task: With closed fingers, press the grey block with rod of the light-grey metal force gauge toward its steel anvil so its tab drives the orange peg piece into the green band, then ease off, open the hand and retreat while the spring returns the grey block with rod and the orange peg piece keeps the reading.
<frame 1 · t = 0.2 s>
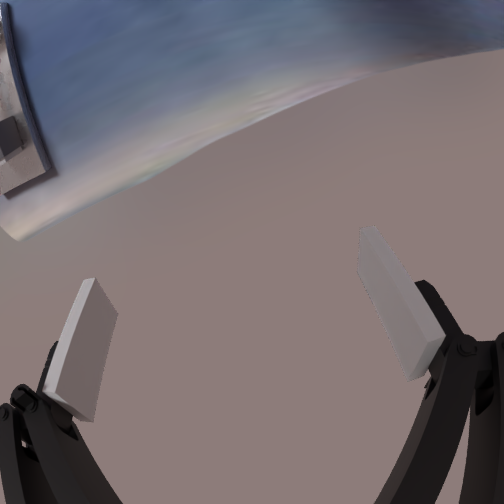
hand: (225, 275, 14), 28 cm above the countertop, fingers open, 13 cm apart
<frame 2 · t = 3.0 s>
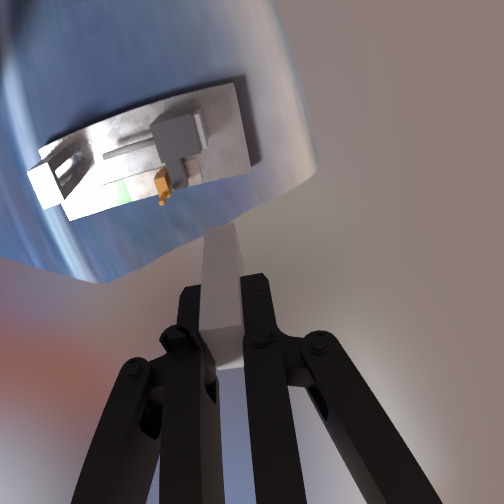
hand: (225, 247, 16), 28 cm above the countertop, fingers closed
grey block with rod: (156, 159, 36), point 5 cm above the countertop, slide at 0.0 cm
gauge board: (139, 151, 39), on the countertop
orange peg piece: (162, 188, 38), point 5 cm above the countertop, slide at 0.0 cm
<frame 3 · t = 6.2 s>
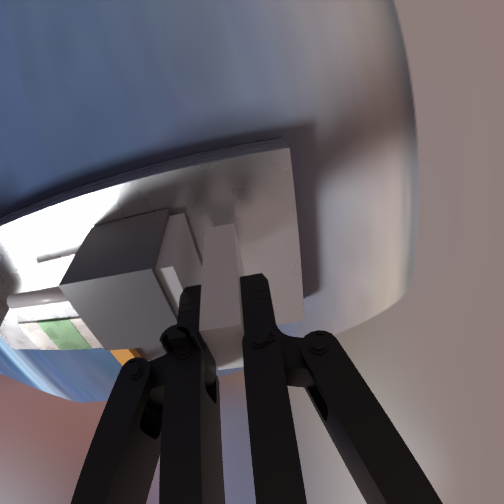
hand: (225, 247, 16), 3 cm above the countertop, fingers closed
grey block with rod: (100, 319, 17), point 5 cm above the countertop, slide at 1.2 cm, touching gripper, orange peg piece
gauge board: (90, 271, 20), on the countertop
orange peg piece: (128, 360, 19), point 5 cm above the countertop, slide at 0.7 cm, touching grey block with rod
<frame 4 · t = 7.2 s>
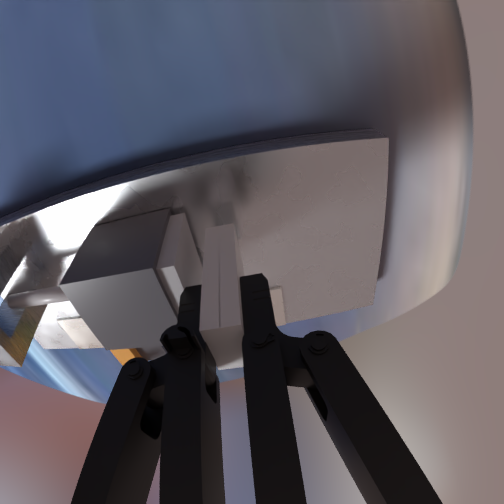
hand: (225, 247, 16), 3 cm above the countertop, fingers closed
grey block with rod: (101, 319, 17), point 5 cm above the countertop, slide at 6.7 cm, touching gripper, orange peg piece
gauge board: (156, 258, 20), on the countertop
orange peg piece: (128, 359, 19), point 5 cm above the countertop, slide at 6.2 cm, touching grey block with rod
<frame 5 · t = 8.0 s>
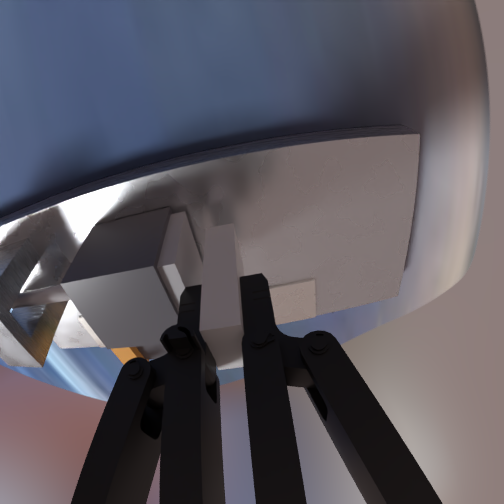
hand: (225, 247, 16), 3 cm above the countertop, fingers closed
grey block with rod: (102, 318, 17), point 5 cm above the countertop, slide at 9.0 cm, touching gripper, orange peg piece
gauge board: (187, 251, 20), on the countertop
orange peg piece: (129, 358, 19), point 5 cm above the countertop, slide at 8.5 cm, touching grey block with rod
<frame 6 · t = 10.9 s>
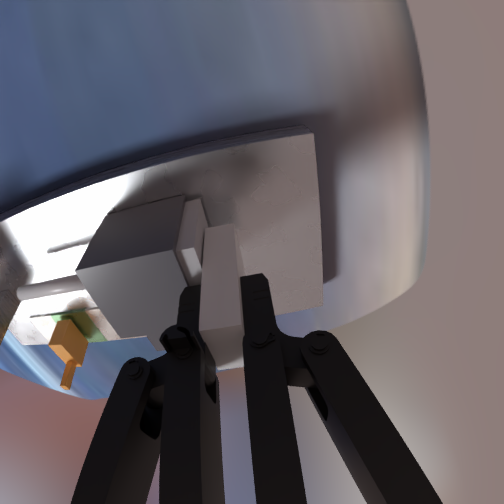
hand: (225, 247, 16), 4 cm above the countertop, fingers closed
grey block with rod: (114, 308, 17), point 5 cm above the countertop, slide at 1.7 cm
gauge board: (107, 260, 20), on the countertop
orange peg piece: (65, 355, 19), point 5 cm above the countertop, slide at 8.5 cm
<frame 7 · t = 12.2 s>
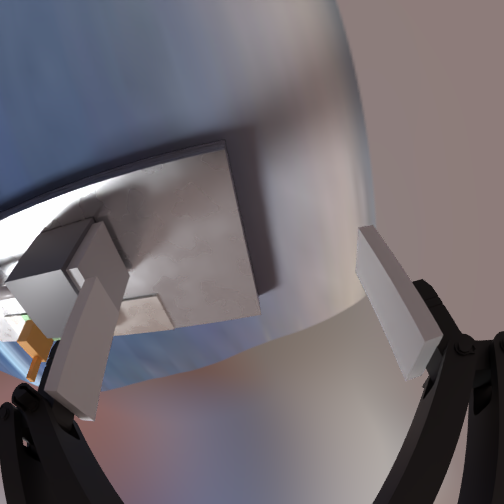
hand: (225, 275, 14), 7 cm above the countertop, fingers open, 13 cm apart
grey block with rod: (48, 312, 18), point 5 cm above the countertop, slide at 3.3 cm, touching gripper
gauge board: (65, 267, 21), on the countertop
orange peg piece: (31, 351, 20), point 5 cm above the countertop, slide at 8.5 cm
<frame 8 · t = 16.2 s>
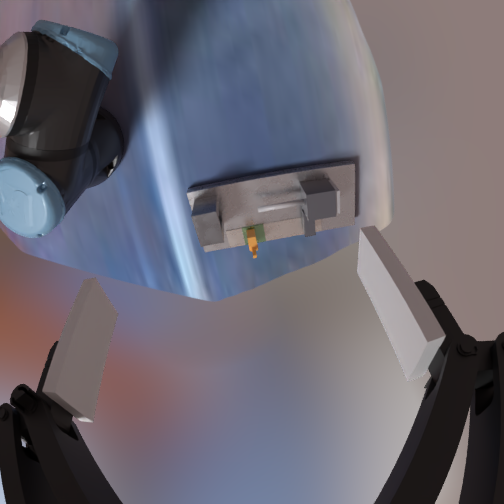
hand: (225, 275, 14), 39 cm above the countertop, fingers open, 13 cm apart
grey block with rod: (298, 215, 52), point 5 cm above the countertop, slide at 0.0 cm
gauge board: (275, 203, 56), on the countertop
orange peg piece: (252, 243, 54), point 5 cm above the countertop, slide at 8.5 cm
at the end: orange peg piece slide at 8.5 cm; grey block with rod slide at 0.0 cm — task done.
